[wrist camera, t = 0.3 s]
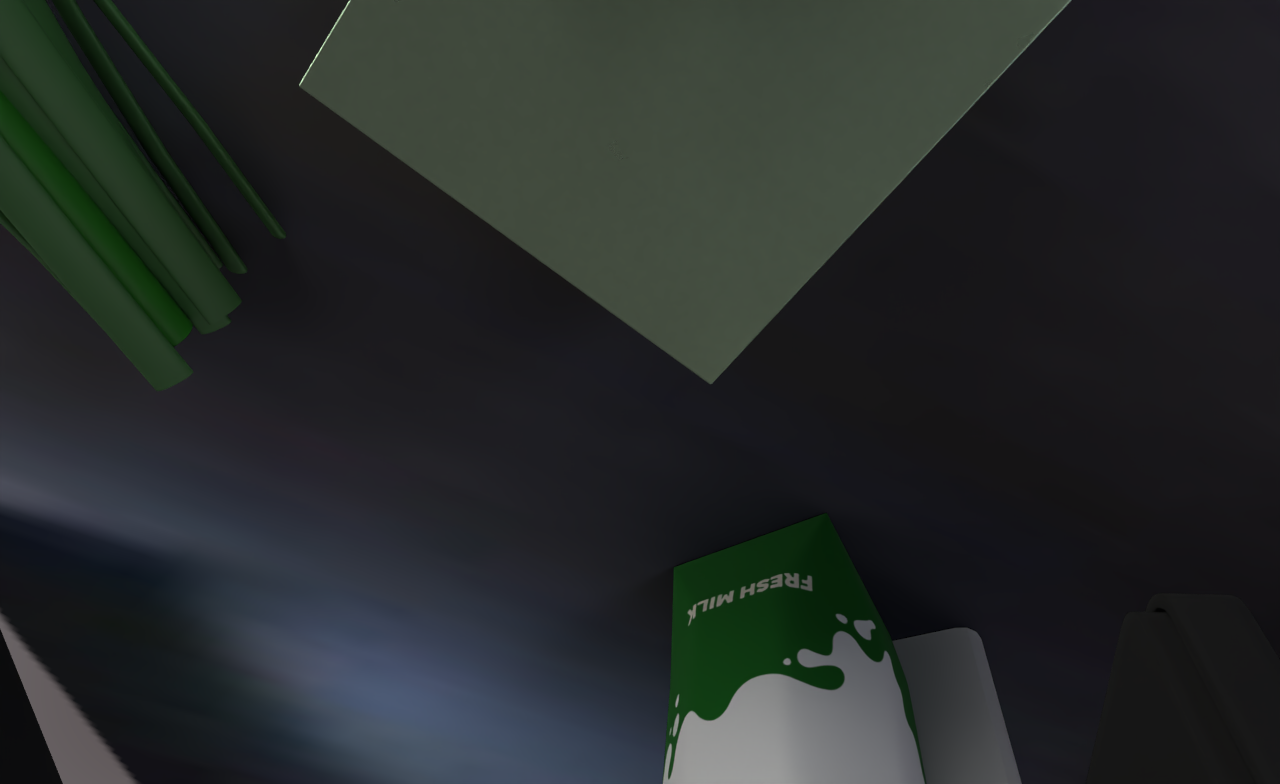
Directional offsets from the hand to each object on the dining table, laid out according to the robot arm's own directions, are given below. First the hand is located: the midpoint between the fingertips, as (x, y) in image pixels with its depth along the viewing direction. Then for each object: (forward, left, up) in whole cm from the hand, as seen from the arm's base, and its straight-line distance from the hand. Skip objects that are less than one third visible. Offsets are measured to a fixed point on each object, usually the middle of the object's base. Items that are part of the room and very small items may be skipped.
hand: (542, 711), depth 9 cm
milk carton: (+16, +18, -31) cm, 39 cm away
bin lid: (-3, -1, -20) cm, 20 cm away
